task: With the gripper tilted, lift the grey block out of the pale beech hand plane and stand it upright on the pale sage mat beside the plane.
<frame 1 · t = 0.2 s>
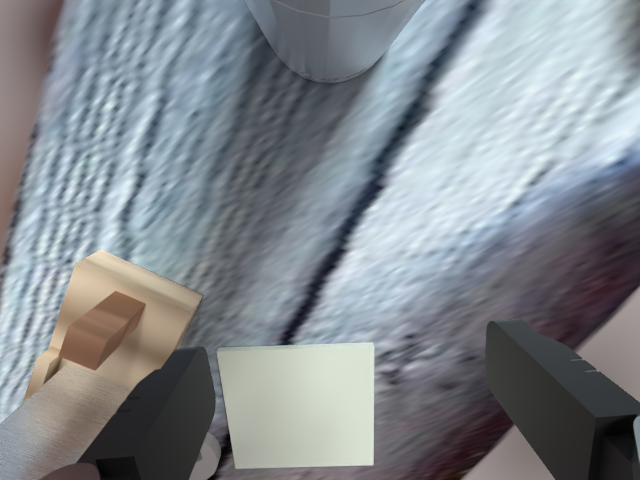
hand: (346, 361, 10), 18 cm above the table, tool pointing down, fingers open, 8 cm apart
mat: (300, 407, 32), on the table
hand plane: (114, 369, 31), on the table
grey block: (93, 393, 28), point 3 cm above the table, touching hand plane
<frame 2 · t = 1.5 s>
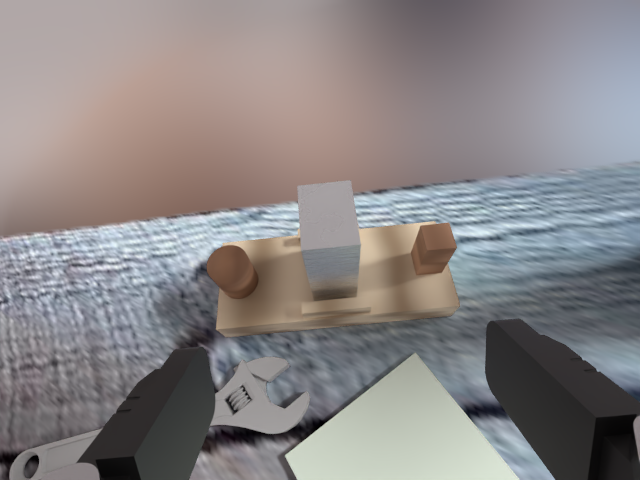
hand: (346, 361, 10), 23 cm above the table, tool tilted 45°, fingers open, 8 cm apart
adjustable wrench: (173, 416, 30), on the table
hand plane: (333, 283, 35), on the table
grey block: (332, 272, 32), point 3 cm above the table, touching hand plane
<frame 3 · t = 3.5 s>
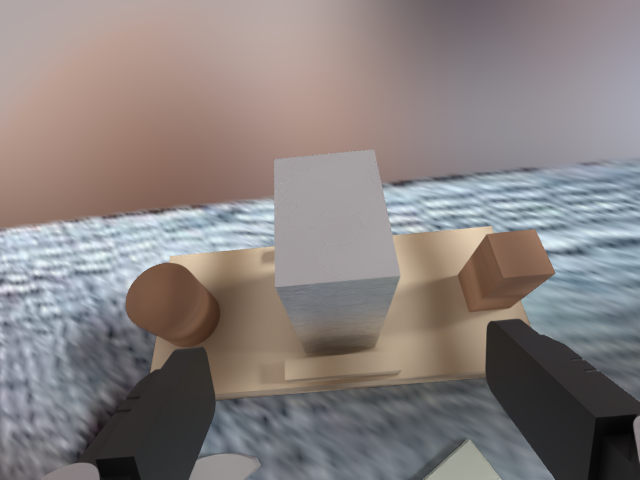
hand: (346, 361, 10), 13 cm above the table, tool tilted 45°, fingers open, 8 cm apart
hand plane: (336, 318, 23), on the table
grey block: (335, 304, 21), point 3 cm above the table, touching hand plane
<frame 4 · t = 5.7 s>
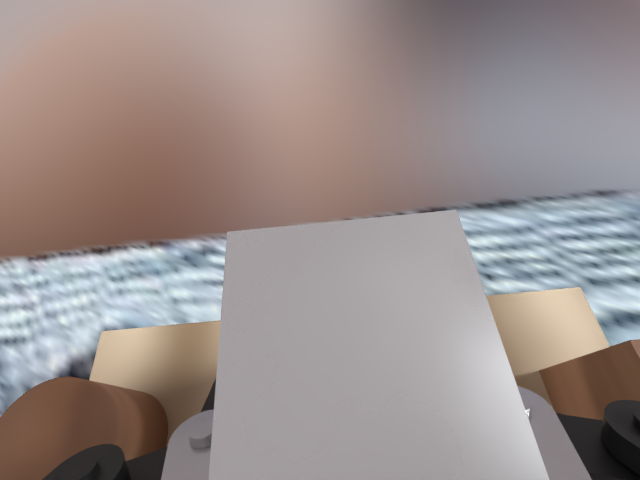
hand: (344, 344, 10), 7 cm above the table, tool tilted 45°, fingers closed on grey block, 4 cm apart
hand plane: (349, 423, 16), on the table
grey block: (350, 420, 13), point 3 cm above the table, touching gripper, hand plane
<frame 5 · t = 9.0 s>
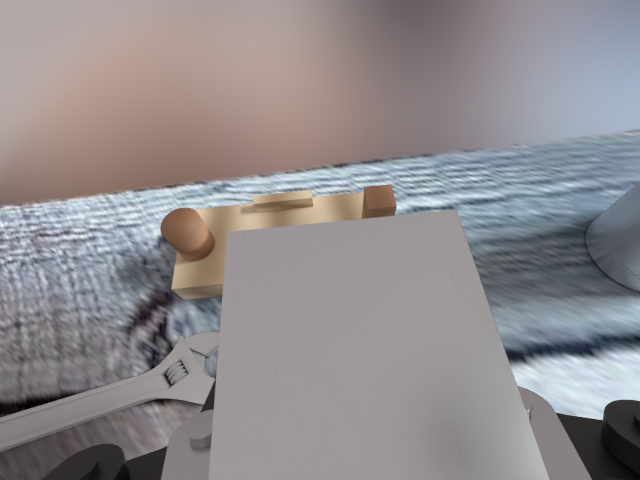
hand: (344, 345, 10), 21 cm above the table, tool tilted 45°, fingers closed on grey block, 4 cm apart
adjustable wrench: (113, 393, 31), on the table
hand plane: (290, 250, 36), on the table
grey block: (350, 420, 13), point 17 cm above the table, touching gripper
when the fingers open (6 cm above the table, at t = 12.2 s): grey block drops 1 cm, resting on mat.
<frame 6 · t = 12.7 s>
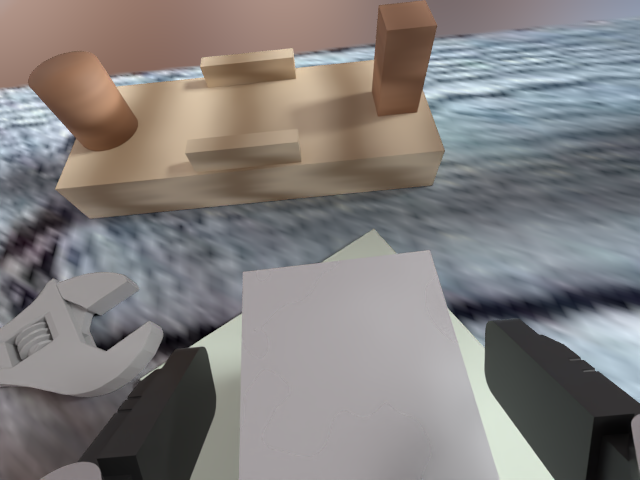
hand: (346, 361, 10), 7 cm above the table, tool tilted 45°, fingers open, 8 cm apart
mat: (348, 423, 15), on the table
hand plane: (260, 150, 24), on the table
grey block: (348, 422, 14), point 1 cm above the table, touching mat
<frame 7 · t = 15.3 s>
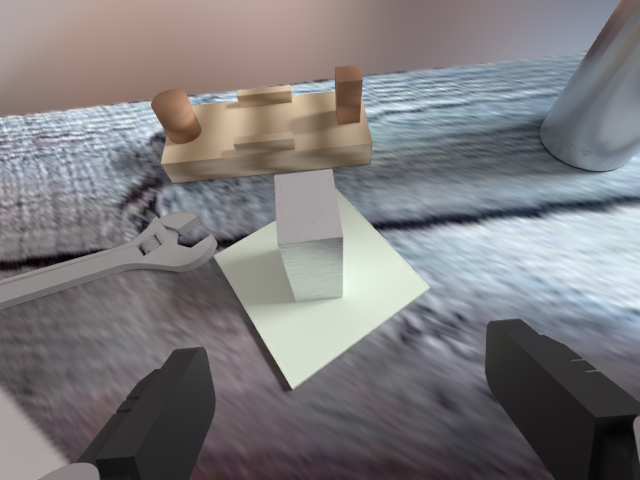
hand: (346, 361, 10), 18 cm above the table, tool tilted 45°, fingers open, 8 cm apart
adjustable wrench: (92, 269, 33), on the table
mat: (317, 273, 31), on the table
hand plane: (271, 144, 40), on the table
grey block: (316, 271, 30), point 1 cm above the table, touching mat
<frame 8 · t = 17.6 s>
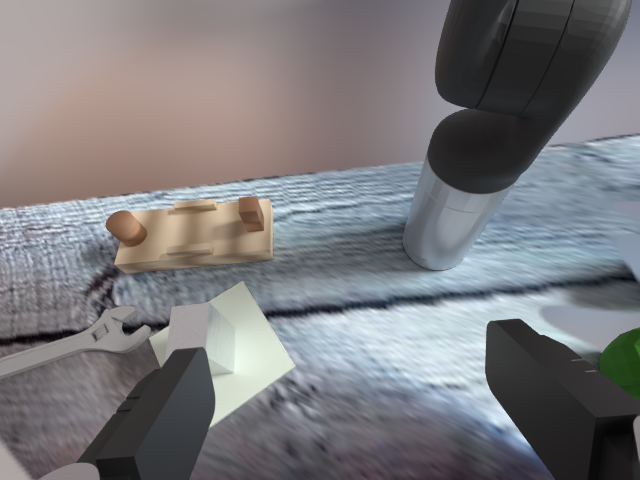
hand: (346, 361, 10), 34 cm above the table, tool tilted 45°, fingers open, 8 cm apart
adjustable wrench: (59, 348, 45), on the table
mat: (221, 352, 43), on the table
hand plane: (202, 240, 52), on the table
grey block: (219, 351, 43), point 1 cm above the table, touching mat
bell pepper: (624, 377, 39), on the table
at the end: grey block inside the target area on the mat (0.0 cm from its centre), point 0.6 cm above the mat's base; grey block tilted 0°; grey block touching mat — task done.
